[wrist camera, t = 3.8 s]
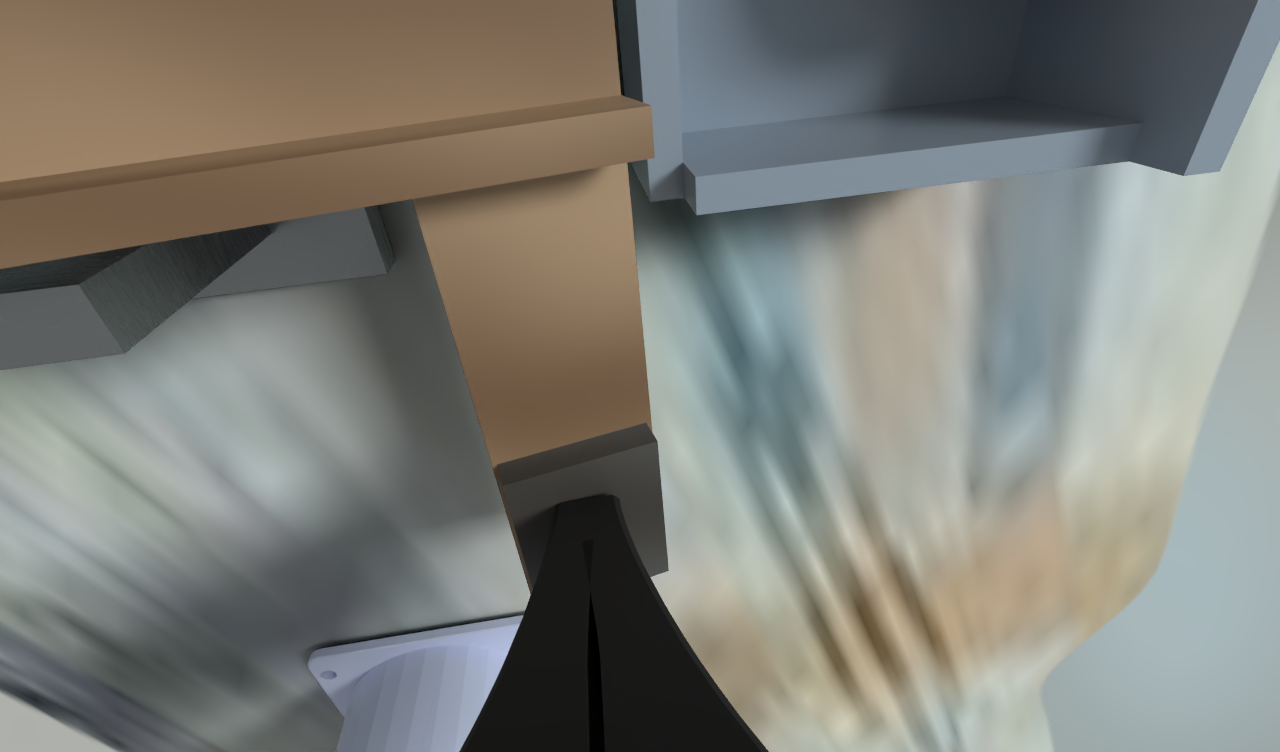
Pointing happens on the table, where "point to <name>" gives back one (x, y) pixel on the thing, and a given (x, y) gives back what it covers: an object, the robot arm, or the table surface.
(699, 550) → the table surface
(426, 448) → the table surface
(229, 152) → the lever
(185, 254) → the lever stand
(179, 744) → the table surface
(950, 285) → the table surface
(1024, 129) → the blue-grey open box
